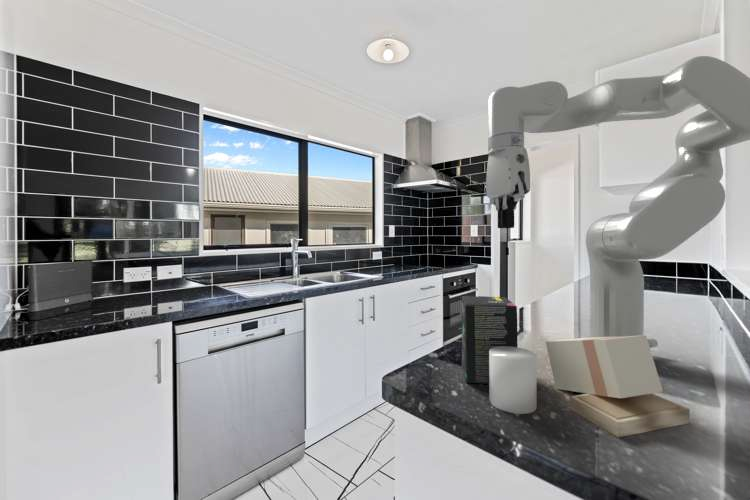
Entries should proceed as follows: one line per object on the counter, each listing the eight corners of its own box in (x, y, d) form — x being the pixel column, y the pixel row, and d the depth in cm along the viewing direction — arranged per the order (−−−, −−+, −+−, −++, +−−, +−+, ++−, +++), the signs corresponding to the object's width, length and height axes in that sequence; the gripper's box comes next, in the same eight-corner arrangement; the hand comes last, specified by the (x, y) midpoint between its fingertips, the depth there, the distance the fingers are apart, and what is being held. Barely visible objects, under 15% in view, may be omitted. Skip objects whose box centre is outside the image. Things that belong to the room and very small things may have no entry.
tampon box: (519, 388, 57) (519, 305, 56) (465, 384, 59) (464, 304, 58) (506, 365, 67) (506, 295, 67) (461, 362, 69) (461, 294, 69)
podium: (634, 398, 53) (634, 385, 52) (689, 423, 45) (689, 407, 45) (569, 409, 49) (569, 395, 49) (617, 437, 42) (617, 421, 42)
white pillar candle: (516, 390, 56) (516, 344, 56) (547, 410, 49) (547, 358, 49) (480, 395, 54) (480, 348, 54) (507, 416, 47) (507, 363, 47)
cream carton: (581, 337, 60) (645, 335, 49) (592, 383, 58) (663, 391, 47) (545, 341, 58) (604, 339, 47) (556, 388, 56) (620, 398, 45)
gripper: (544, 137, 66) (544, 226, 66) (499, 156, 81) (499, 229, 81) (513, 134, 64) (513, 226, 65) (472, 154, 79) (473, 229, 79)
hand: (505, 227), depth 73 cm, fingers closed
